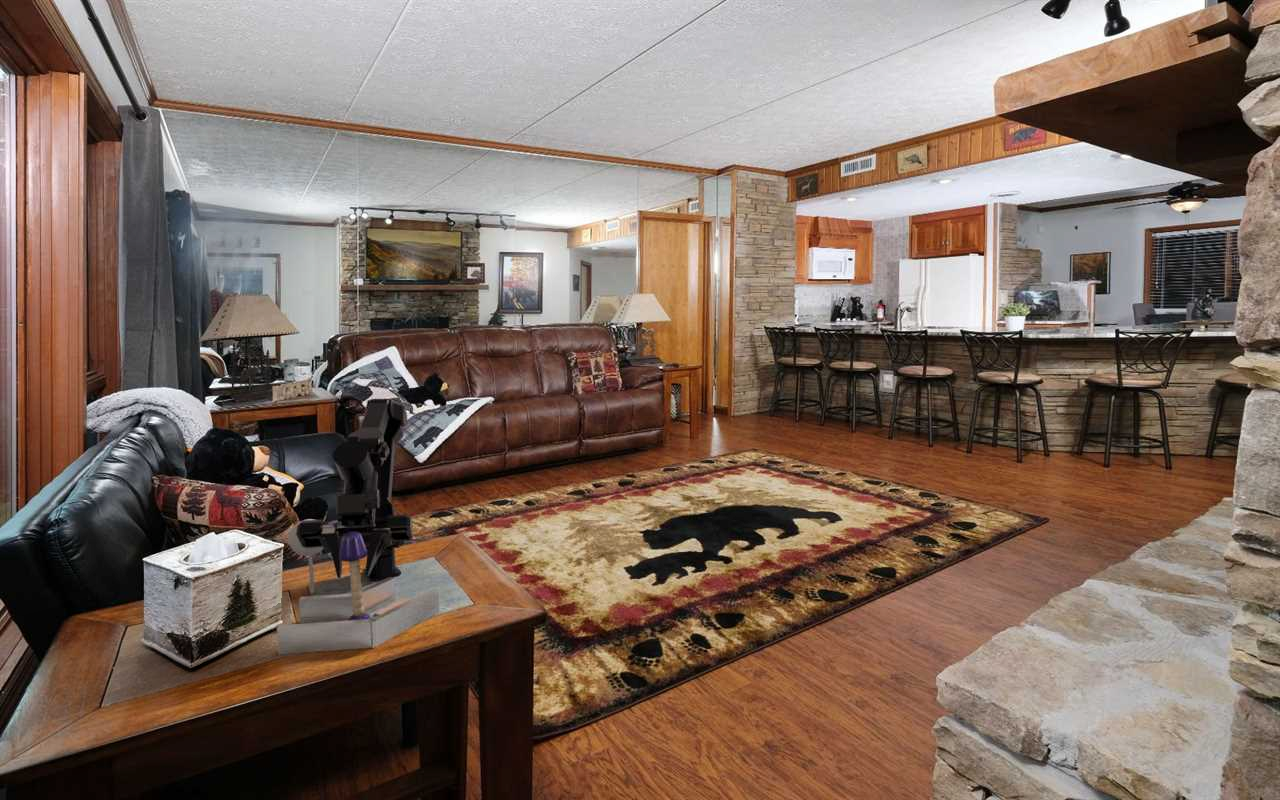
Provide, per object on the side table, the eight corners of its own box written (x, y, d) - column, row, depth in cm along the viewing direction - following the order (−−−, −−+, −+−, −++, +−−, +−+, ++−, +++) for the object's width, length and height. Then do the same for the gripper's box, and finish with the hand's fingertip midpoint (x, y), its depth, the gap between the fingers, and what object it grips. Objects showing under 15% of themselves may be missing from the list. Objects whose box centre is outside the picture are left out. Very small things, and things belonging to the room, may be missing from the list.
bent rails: (268, 628, 121) (266, 604, 120) (419, 592, 137) (418, 570, 136) (285, 672, 107) (283, 645, 106) (452, 626, 122) (451, 602, 122)
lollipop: (338, 592, 136) (333, 519, 134) (300, 603, 131) (295, 528, 129) (323, 582, 141) (318, 512, 139) (286, 592, 136) (281, 520, 134)
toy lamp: (353, 634, 117) (348, 540, 114) (336, 626, 119) (331, 535, 117) (377, 623, 121) (373, 532, 118) (360, 616, 123) (356, 527, 121)
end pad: (403, 600, 133) (403, 598, 133) (430, 608, 130) (430, 606, 129) (374, 614, 127) (374, 612, 126) (402, 623, 123) (401, 621, 123)
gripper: (295, 476, 118) (282, 561, 109) (408, 470, 122) (405, 552, 113) (308, 507, 127) (297, 587, 118) (414, 500, 131) (411, 578, 122)
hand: (353, 576), depth 117 cm, fingers closed on toy lamp, 4 cm apart
